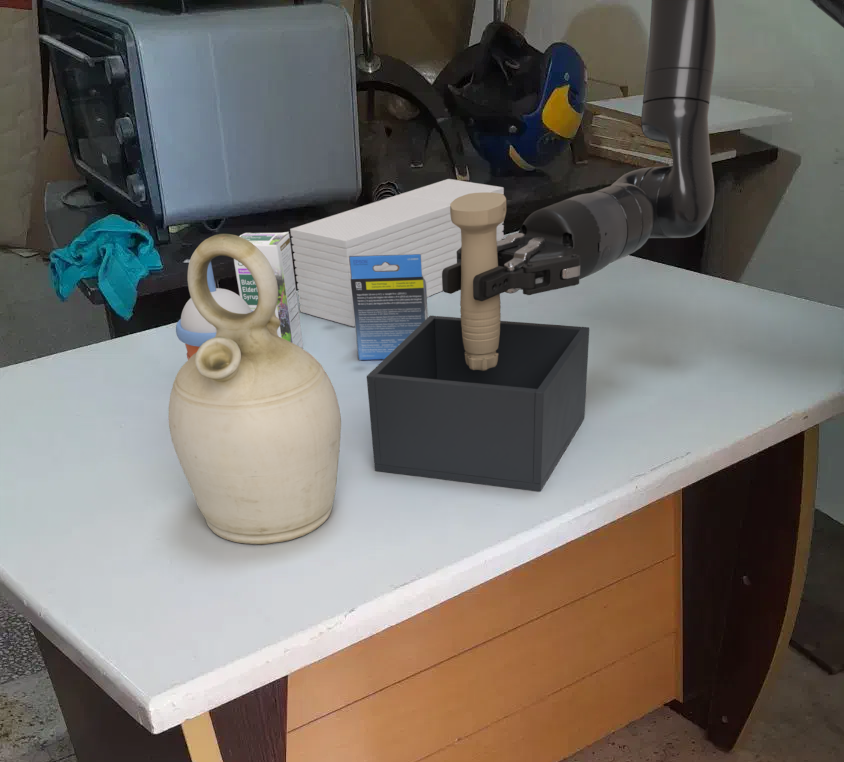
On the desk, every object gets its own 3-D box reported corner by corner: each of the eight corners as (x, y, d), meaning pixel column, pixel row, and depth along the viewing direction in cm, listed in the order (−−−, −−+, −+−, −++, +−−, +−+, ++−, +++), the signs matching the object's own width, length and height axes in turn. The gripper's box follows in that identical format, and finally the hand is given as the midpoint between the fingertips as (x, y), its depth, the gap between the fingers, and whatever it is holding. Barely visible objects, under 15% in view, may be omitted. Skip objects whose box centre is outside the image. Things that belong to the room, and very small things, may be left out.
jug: (285, 570, 90) (237, 271, 73) (157, 531, 96) (86, 249, 80) (381, 497, 99) (357, 218, 83) (258, 466, 106) (214, 201, 89)
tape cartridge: (430, 348, 129) (426, 244, 121) (427, 360, 126) (422, 253, 118) (361, 349, 130) (352, 246, 122) (357, 361, 127) (347, 255, 119)
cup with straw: (179, 427, 114) (142, 257, 103) (220, 396, 121) (189, 232, 109) (249, 436, 112) (219, 262, 100) (287, 404, 118) (263, 237, 106)
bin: (584, 418, 111) (589, 327, 104) (540, 491, 98) (543, 392, 92) (433, 403, 116) (429, 315, 109) (374, 470, 104) (366, 375, 97)
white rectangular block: (353, 327, 137) (345, 240, 129) (300, 312, 142) (290, 228, 135) (503, 266, 154) (503, 187, 146) (450, 255, 159) (448, 178, 152)
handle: (449, 376, 100) (442, 210, 90) (467, 352, 105) (462, 192, 95) (496, 380, 99) (494, 211, 89) (512, 355, 104) (512, 192, 94)
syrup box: (249, 368, 127) (229, 243, 118) (262, 351, 131) (244, 229, 122) (293, 369, 126) (276, 243, 117) (305, 351, 131) (289, 229, 121)
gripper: (520, 190, 105) (404, 231, 96) (633, 208, 97) (518, 255, 88) (519, 267, 110) (409, 312, 101) (627, 290, 102) (518, 342, 93)
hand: (461, 285), depth 95 cm, fingers closed on handle, 3 cm apart
